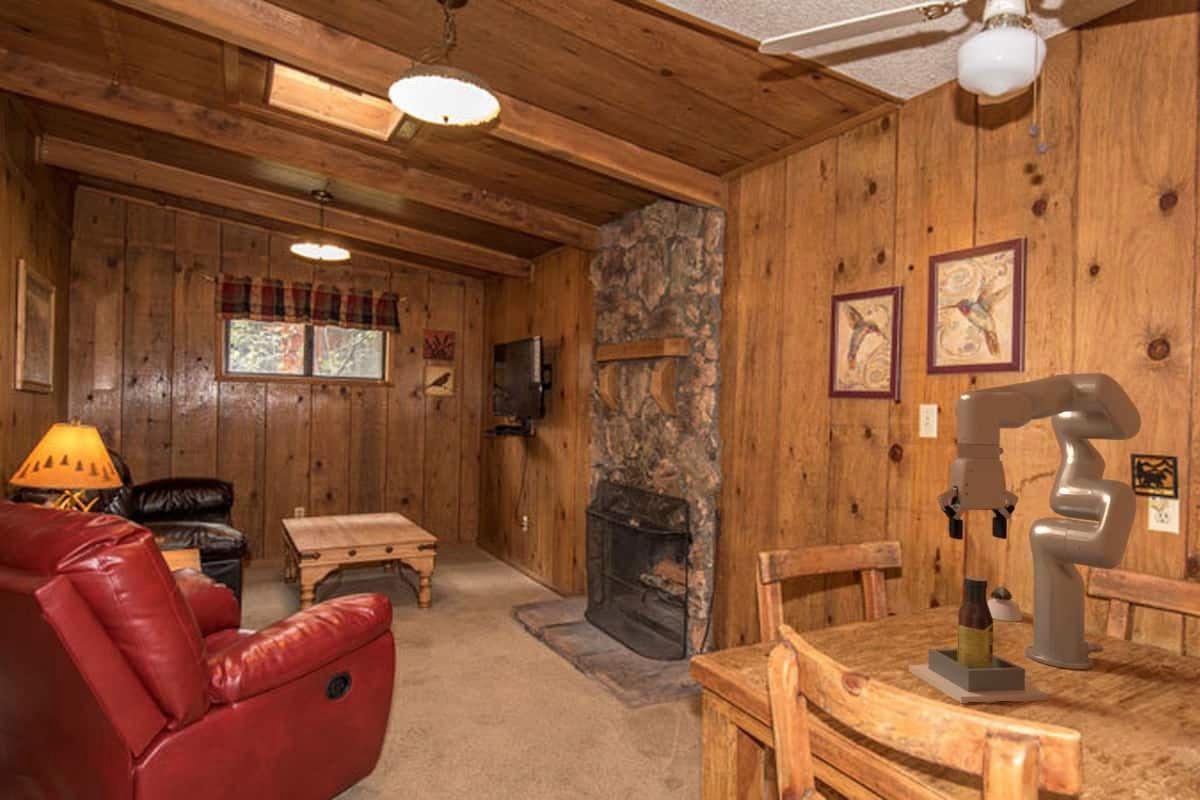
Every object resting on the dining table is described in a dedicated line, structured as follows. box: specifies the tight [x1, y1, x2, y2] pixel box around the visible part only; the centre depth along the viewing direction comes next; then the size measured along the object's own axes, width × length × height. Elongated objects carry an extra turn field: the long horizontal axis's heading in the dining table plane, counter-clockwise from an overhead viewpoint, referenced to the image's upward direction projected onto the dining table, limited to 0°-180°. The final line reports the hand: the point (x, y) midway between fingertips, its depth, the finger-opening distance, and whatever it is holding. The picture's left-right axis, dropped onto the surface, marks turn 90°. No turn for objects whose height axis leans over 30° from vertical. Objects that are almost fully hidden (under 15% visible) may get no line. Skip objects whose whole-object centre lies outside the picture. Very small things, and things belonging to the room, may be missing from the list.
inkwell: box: [987, 585, 1024, 623], centre depth 181 cm, size 9×18×10 cm, turn 152°
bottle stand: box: [908, 648, 1048, 704], centre depth 135 cm, size 18×16×5 cm
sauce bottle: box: [956, 576, 994, 669], centre depth 135 cm, size 7×6×20 cm
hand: (977, 538), depth 136 cm, fingers open, 9 cm apart
